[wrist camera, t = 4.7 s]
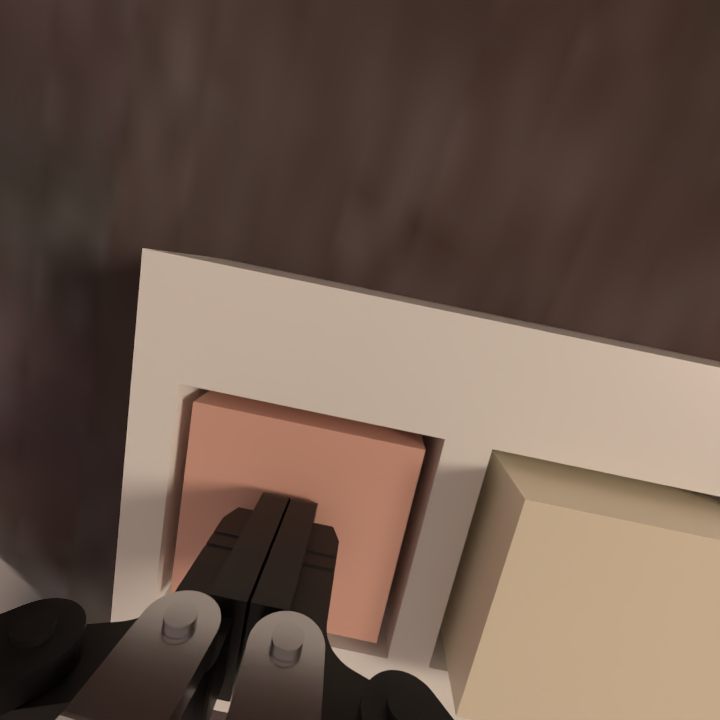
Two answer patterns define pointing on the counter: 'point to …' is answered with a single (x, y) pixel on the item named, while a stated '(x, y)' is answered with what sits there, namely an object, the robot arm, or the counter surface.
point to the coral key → (305, 491)
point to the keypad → (393, 416)
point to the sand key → (585, 598)
